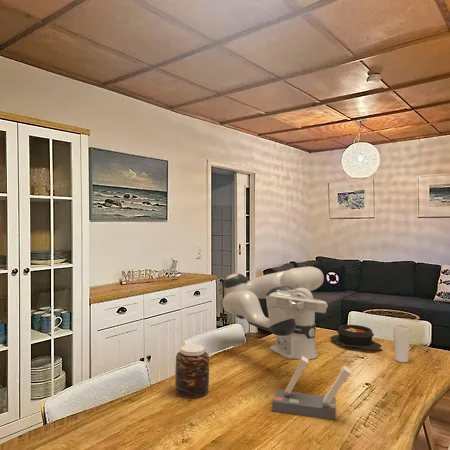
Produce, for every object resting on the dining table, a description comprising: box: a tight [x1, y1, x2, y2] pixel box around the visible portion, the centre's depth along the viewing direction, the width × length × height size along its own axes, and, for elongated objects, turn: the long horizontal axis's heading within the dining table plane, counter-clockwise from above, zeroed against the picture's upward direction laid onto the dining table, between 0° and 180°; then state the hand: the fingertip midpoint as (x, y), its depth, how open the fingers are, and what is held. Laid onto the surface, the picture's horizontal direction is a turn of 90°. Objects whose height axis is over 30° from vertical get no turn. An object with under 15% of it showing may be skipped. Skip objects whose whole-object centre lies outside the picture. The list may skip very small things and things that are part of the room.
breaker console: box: [271, 389, 337, 421], centre depth 127 cm, size 9×19×3 cm, turn 74°
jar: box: [174, 343, 210, 399], centre depth 139 cm, size 12×12×15 cm
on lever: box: [323, 365, 352, 407], centre depth 122 cm, size 4×2×13 cm
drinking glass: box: [393, 323, 412, 364], centre depth 173 cm, size 7×7×15 cm
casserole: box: [329, 324, 382, 351], centre depth 195 cm, size 25×19×8 cm
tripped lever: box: [284, 356, 310, 397], centre depth 129 cm, size 4×2×13 cm, turn 164°
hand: (294, 305), depth 134 cm, fingers closed
